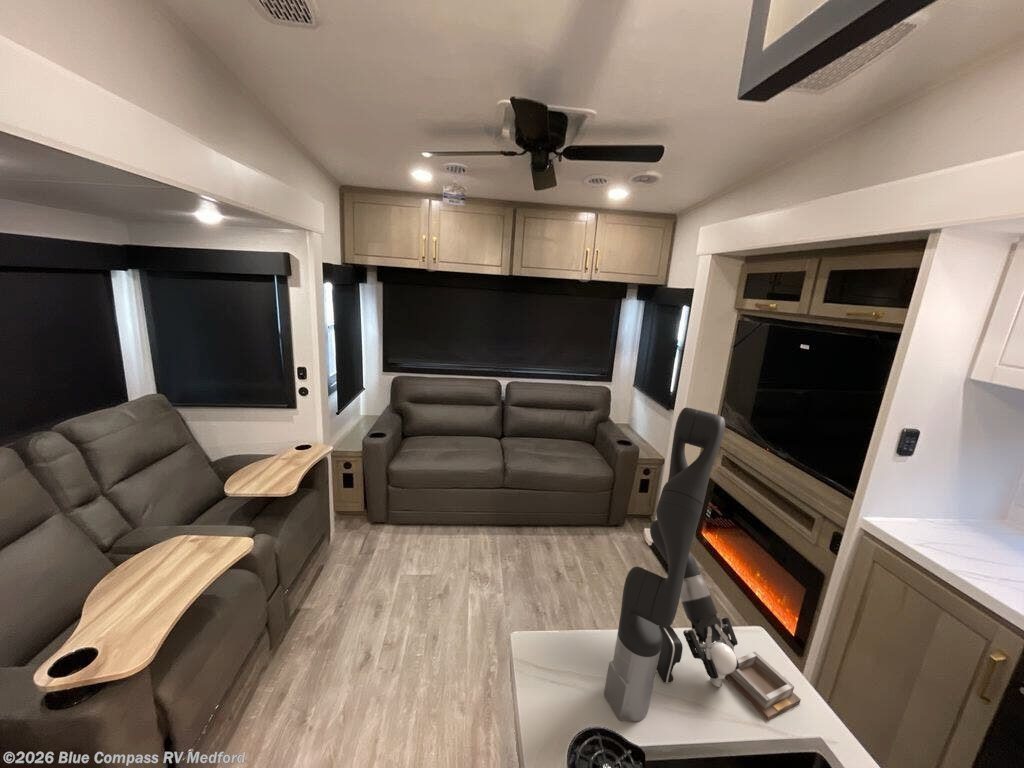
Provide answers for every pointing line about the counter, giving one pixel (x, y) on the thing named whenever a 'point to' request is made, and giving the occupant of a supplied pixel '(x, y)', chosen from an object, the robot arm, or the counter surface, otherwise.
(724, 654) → the lightbulb
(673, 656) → the battery charger
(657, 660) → the robot arm
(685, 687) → the counter surface
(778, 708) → the socket board
